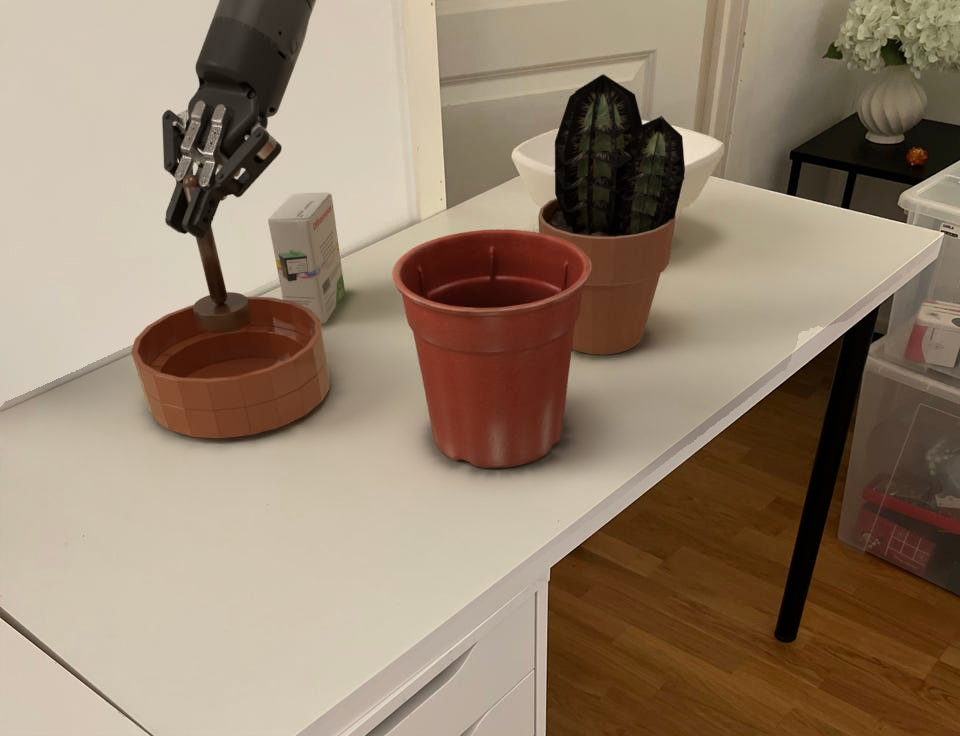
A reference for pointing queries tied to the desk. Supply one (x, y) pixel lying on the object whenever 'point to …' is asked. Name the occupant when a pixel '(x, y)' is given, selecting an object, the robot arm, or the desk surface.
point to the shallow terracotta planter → (233, 370)
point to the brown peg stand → (216, 285)
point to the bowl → (698, 148)
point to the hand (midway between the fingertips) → (184, 230)
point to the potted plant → (614, 209)
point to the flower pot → (494, 339)
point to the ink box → (308, 252)
